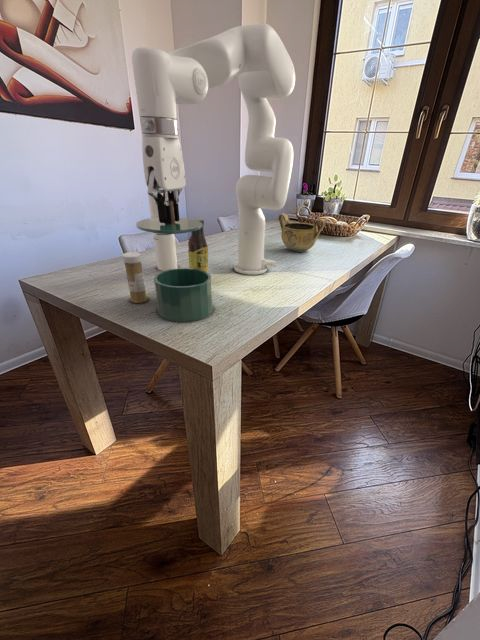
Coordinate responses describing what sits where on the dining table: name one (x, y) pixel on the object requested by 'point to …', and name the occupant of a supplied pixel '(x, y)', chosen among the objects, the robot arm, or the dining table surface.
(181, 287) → the canister
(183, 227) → the lid
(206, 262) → the sauce bottle
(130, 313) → the dining table surface
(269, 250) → the dining table surface
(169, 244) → the cylindrical container
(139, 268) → the sprinkles bottle
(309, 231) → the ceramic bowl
